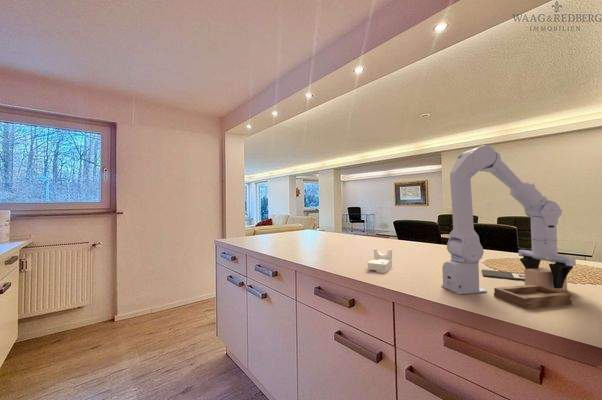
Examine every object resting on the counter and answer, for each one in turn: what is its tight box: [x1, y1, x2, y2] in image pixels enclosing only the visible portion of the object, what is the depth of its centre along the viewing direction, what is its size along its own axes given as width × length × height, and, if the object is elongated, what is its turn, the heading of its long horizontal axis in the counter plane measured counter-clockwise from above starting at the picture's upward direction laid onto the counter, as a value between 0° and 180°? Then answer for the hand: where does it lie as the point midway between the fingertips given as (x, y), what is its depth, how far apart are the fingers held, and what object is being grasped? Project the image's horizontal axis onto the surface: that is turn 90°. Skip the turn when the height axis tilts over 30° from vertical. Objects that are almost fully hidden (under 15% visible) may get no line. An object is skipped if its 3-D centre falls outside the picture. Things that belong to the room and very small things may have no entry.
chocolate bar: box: [481, 269, 525, 282], centre depth 92 cm, size 9×1×18 cm
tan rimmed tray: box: [493, 284, 573, 310], centre depth 70 cm, size 14×9×2 cm, turn 98°
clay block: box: [523, 266, 568, 292], centre depth 79 cm, size 10×4×6 cm, turn 98°
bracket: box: [367, 247, 393, 274], centre depth 108 cm, size 13×7×8 cm, turn 150°
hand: (545, 284), depth 79 cm, fingers open, 6 cm apart
